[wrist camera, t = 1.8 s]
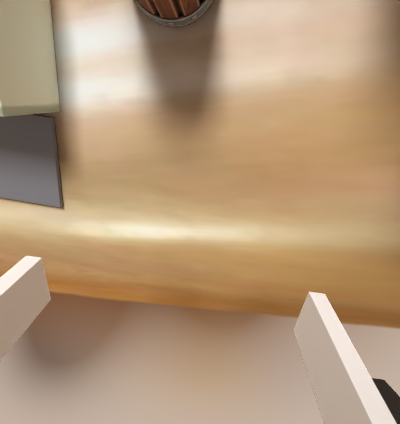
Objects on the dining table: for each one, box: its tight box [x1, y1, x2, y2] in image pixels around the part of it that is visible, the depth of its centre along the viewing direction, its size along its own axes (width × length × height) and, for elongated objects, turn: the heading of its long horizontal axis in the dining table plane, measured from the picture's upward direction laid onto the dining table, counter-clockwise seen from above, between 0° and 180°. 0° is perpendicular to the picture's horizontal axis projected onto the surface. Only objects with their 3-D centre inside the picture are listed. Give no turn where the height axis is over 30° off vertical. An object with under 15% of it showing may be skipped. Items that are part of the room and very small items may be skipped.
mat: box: [0, 114, 63, 208], centre depth 37 cm, size 14×12×1 cm
